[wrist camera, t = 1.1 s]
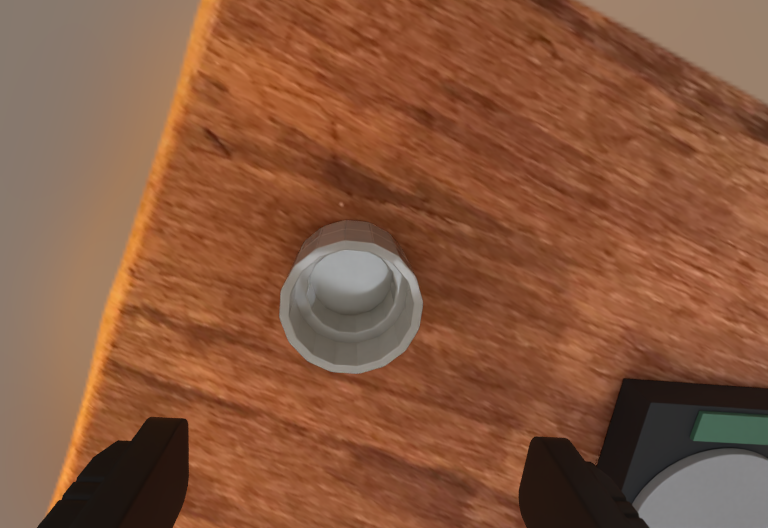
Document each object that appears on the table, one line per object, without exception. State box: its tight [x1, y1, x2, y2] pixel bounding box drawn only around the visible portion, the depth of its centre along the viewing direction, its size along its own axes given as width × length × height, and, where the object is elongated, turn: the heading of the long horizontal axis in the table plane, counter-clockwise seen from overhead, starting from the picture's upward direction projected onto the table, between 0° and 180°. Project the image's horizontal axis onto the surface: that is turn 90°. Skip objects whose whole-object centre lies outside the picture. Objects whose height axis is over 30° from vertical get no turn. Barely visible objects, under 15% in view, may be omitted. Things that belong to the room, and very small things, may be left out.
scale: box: [597, 379, 768, 528], centre depth 27 cm, size 14×12×3 cm
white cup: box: [279, 220, 423, 374], centre depth 21 cm, size 6×6×5 cm
